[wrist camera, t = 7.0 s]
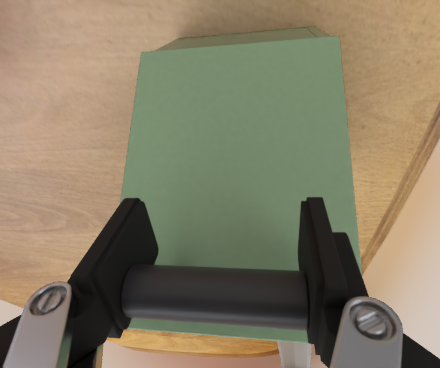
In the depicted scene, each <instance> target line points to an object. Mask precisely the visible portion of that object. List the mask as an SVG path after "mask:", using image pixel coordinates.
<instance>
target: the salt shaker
mask: <svg viewBox="0 0 440 368" xmlns="http://www.w3.org/2000/svg"><path fill="white" fill-rule="evenodd" d="M277 343H278V348H279V353H280V358H281V363H282V368H310V364H311V345H312V344H309V343H296V342H284V341H277Z"/></svg>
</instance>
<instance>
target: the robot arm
mask: <svg viewBox="0 0 440 368" xmlns="http://www.w3.org/2000/svg"><path fill="white" fill-rule="evenodd" d="M158 252H159V248H158V244H157V241H156V238H155V234H154V231H153V228H152V225H151V221H150V218H149V215H148V212H147V208H146V205H145V203H144V202H143V201H141V200H140V199H139V198H124V199H123V201H122V202H121V204H120V205H119V206H118V208H117V209H116V211H115V212H114V214H113V215H112V217H111V218H110V220H109V221H108V222H107V224H106V225H105V227H104V228H103V230H102V231H101V233H100V234H99V236H98V237H97V238H96V240H95V241H94V243H93V244H92V246H91V247H90V249H89V250H88V251H87V253H86V254H85V256H84V257H83V259H82V260H81V262H80V263H79V265H78V266H77V267H76V269H75V270H74V272H73V273H72V275H71V277H70V279H69V280H68V282H63V281H58V282H53V283H50V284H47V285H45V286H43V287H42V288H40V289H39V290H37V291H36V292H35V293H34V294H33V295H32V296H31V297H30V298H29V299H28V301H27V303H26V305H25V307H24V310H23V313H22V315H20V316H18V317H16V318H14V319H13V320H11V321H9V322H7V323H5V324H4V325H2V326H0V368H101V365H102V354H103V343H104V342H105V341H106V339H107V337H110V338H120V337H121V335H122V333H123V330H124V329H127V328H128V327H129V325H130V322H131V320H132V318H128V317H126V316H125V315H124V313H123V311H122V308H121V290H122V285H123V281H124V278H125V276H126V274H127V272H128V270H129V269H130V268H131V267H132V266H133V265H135V264H150V265H154V264H155V261H156V259H157V256H158ZM298 264H299V271H304V272H305V274H306V277H307V283H308V291H309V306H310V319H309V327H308V330H307V338H308V343H309V344H314V345H315V353H316V355H320V357H321V361H322V362H323V363H324V364H325V365H326V366H327V367H328V368H440V359H439V358H438V357H436V356H435V355H433V354H432V353H431V352H429V351H428V350H426V349H425V348H424V347H422V346H421V345H419V344H418V343H417V342H415V341H414V340H412V339H411V338H410V337H408V336H407V335H405V334H404V333H403V328H402V323H401V321H400V319H399V317H398V315H397V314H396V313H395V312H394V311H393V309H392V308H390V307H389V306H388V305H386V304H385V303H384V302H382V301H380V300H377V299H375V298H371V297H369V296H368V293H367V290H366V287H365V284H364V281H363V278H362V275H361V272H360V269H359V266H358V264H357V261H356V258H355V255H354V252H353V249H352V246H351V243H350V240H349V237H348V235H347V233H346V232H332V228H331V225H330V221H329V218H328V214H327V211H326V207H325V203H324V200H323V197H307V199H306V201H301V209H300V224H299V239H298Z"/></svg>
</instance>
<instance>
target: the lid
mask: <svg viewBox="0 0 440 368" xmlns="http://www.w3.org/2000/svg"><path fill="white" fill-rule="evenodd" d="M307 197H323V200H324V203H325V207H326V211H327V214H328V218H329V221H330V225H331V228H332V232H346V233H347V235H348V237H349V240H350V243H351V246H352V249H353V252H354V255H355V258H356V261H357V264H358V266H359V269H360V272H361V275H362V270H361V259H360V249H359V238H358V228H357V217H356V207H355V196H354V185H353V175H352V164H351V154H350V143H349V133H348V122H347V111H346V101H345V90H344V80H343V69H342V59H341V48H340V37H339V36H330V37H318V38H306V39H294V40H282V41H270V42H258V43H246V44H234V45H222V46H210V47H198V48H186V49H174V50H162V51H150V52H141V57H140V64H139V72H138V79H137V86H136V93H135V100H134V107H133V115H132V122H131V129H130V136H129V143H128V150H127V158H126V165H125V172H124V179H123V186H122V193H121V201H120V204H121V202H122V201H123V199H124V198H139V199H140V200H141V201H143V202H144V203H145V205H146V208H147V212H148V215H149V218H150V221H151V225H152V228H153V231H154V234H155V238H156V241H157V244H158V248H159V252H158V256H157V259H156V261H155V264H154V265H150V264H135V265H133V266H132V267H131V268H130V269H129V270H128V272H127V274H126V276H125V278H124V281H123V285H122V290H121V308H122V311H123V313H124V315H125V316H126V317H128V318H132V320H131V322H130V325H129V327H128V328H127V329H135V330H147V331H160V332H172V333H185V334H197V335H209V336H222V337H234V338H247V339H259V340H271V341H284V342H296V343H308V338H307V330H308V327H309V319H310V306H309V291H308V283H307V277H306V274H305V272H304V271H299V264H298V239H299V224H300V209H301V201H306V199H307Z"/></svg>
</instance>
